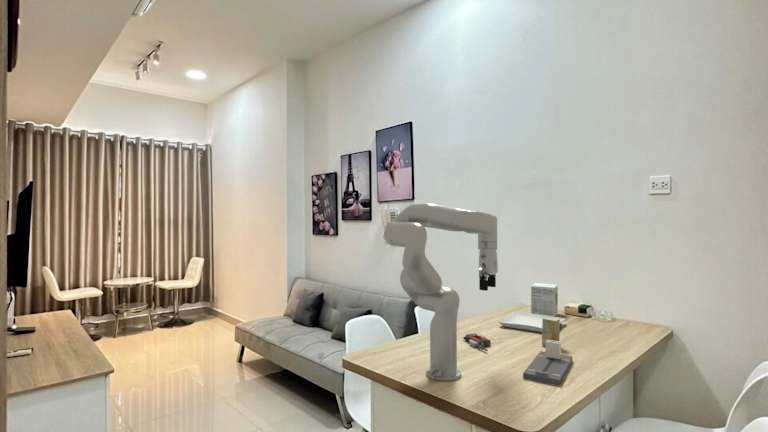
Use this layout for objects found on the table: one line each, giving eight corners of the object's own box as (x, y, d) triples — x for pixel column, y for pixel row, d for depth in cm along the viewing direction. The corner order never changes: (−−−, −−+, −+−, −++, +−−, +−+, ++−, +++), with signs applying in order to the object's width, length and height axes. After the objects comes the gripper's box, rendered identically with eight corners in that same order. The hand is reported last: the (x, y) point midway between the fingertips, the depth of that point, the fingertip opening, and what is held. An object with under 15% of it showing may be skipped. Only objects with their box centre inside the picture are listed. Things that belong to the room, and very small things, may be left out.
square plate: (515, 317, 234) (515, 311, 234) (566, 325, 218) (566, 317, 218) (498, 328, 212) (498, 320, 212) (553, 336, 196) (553, 328, 196)
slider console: (559, 386, 137) (559, 377, 137) (523, 378, 143) (523, 369, 143) (572, 361, 160) (572, 353, 160) (540, 356, 167) (540, 348, 167)
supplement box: (555, 318, 231) (554, 287, 231) (530, 315, 238) (530, 285, 238) (558, 313, 242) (558, 284, 243) (535, 311, 249) (534, 282, 249)
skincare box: (541, 346, 180) (541, 318, 180) (545, 343, 184) (545, 316, 184) (556, 349, 176) (556, 320, 176) (560, 346, 179) (560, 318, 179)
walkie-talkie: (459, 341, 189) (485, 354, 170) (459, 331, 189) (484, 343, 170) (475, 339, 192) (502, 351, 174) (475, 329, 192) (502, 341, 174)
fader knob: (559, 359, 156) (559, 343, 156) (545, 356, 159) (545, 341, 159) (560, 357, 159) (560, 341, 159) (547, 354, 161) (547, 339, 161)
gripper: (489, 247, 155) (489, 292, 154) (503, 245, 169) (503, 286, 169) (470, 246, 159) (471, 290, 159) (485, 244, 173) (485, 284, 173)
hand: (487, 288), depth 164 cm, fingers open, 9 cm apart
